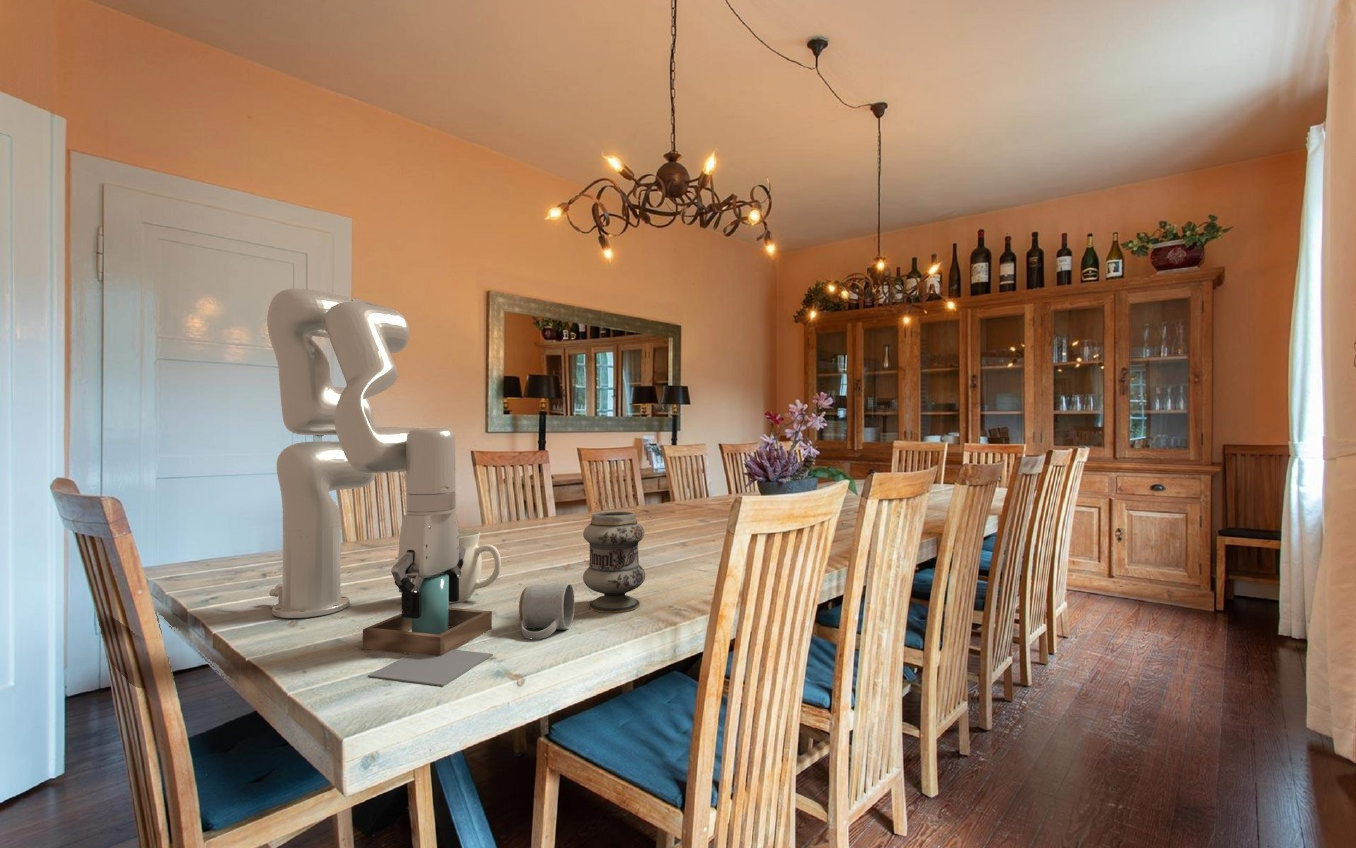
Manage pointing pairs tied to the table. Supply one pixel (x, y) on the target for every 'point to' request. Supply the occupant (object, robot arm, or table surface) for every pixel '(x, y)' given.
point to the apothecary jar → (614, 560)
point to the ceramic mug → (546, 608)
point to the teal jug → (433, 605)
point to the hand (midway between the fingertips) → (431, 608)
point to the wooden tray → (398, 640)
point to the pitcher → (474, 564)
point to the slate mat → (431, 667)
